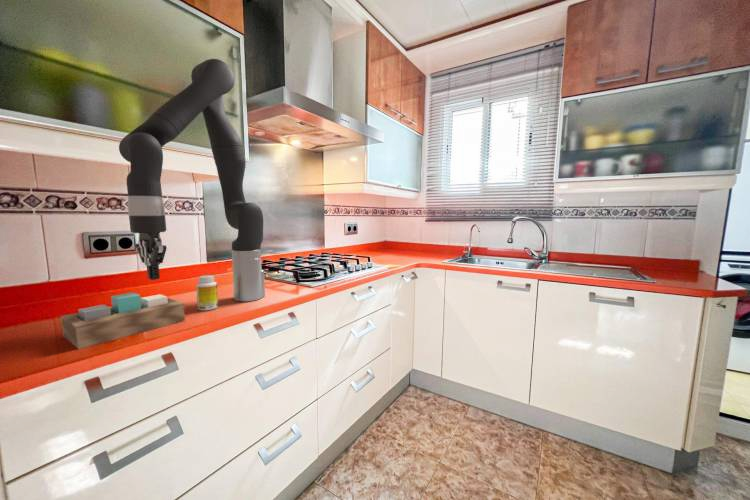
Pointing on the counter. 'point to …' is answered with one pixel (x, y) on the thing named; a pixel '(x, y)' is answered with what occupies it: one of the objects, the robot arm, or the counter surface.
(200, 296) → the supplement bottle
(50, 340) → the counter surface
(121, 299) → the teal key
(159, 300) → the ivory key
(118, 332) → the frame
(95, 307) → the grey key
